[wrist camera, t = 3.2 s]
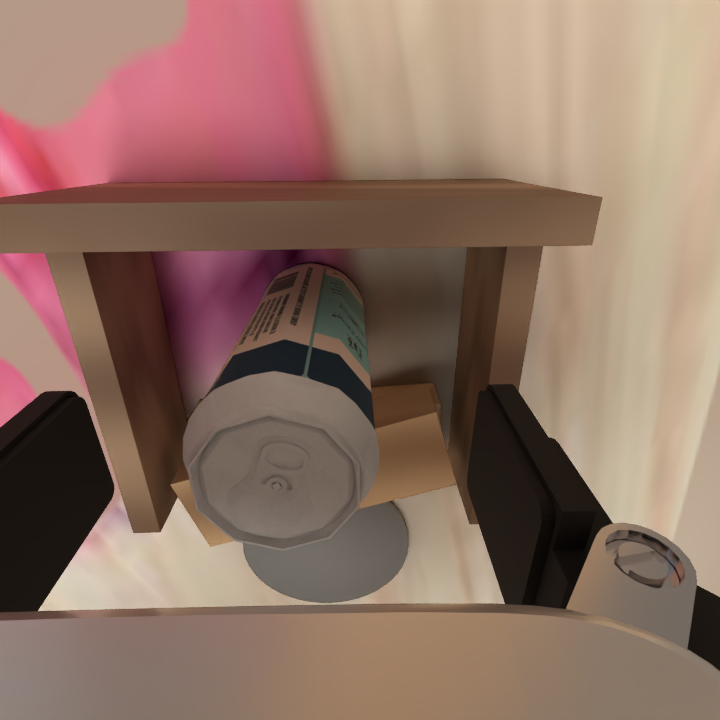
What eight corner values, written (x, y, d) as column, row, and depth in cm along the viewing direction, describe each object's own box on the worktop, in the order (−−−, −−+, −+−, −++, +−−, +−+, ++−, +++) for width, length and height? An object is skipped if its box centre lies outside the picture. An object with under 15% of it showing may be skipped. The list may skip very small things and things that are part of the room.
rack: (468, 454, 25) (519, 581, 17) (173, 461, 24) (99, 593, 17) (502, 178, 18) (602, 197, 11) (106, 182, 18) (-54, 204, 11)
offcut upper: (445, 449, 22) (456, 484, 20) (223, 508, 23) (210, 546, 21) (426, 382, 20) (436, 412, 18) (188, 449, 22) (170, 484, 19)
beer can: (252, 341, 21) (154, 539, 10) (275, 246, 19) (183, 369, 9) (347, 367, 22) (347, 578, 11) (377, 278, 20) (413, 429, 9)
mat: (404, 593, 29) (405, 600, 29) (254, 597, 29) (253, 604, 29) (410, 475, 25) (411, 481, 25) (234, 480, 25) (232, 486, 24)
